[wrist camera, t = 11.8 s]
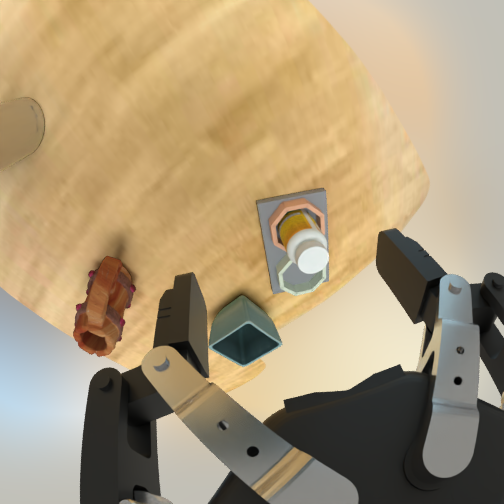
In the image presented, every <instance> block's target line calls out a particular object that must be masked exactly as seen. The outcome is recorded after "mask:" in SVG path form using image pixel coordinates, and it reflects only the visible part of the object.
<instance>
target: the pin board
mask: <svg viewBox="0 0 504 504" xmlns="http://www.w3.org/2000/svg"><path fill="white" fill-rule="evenodd" d="M256 202H257V207H258V213H259V219H260V224H261V230H262V235H263V241H264V247H265V252H266V258H267V264H268V269H269V275H270V281H271V287H272V291H273V294H276V293H281V292H285V291H286V292H288V293H290V294H292V295H295V296H297V295H301V294H305V293H309V292H313V291H314V290H315V289H316V288H317V287H318V286H319V285H320V284H321V283H323V282H327V281H329V261H328V263H327V265H326V266H325V267H324V268H323V269H322V270H321V271H319V272H317V273H313V274H307V273H304V272H302V271H301V270H300V269H299V267H298V265H297V264H295V263H293V262H292V261H291V260H290V259H289V257H288V255H287V252H286V250H285V247H284V245H283V242H282V240H281V237H280V235H279V232H278V228H277V224H278V223H279V221H280V220H281V219H282V218H283V216H284V215H285V214H286V213H287V211H292V210H297V209H304V210H306V211H308V212H309V213H310V215H311V216H312V217H313V219H314V220H315V222H316V224H317V225H318V227H319V228H320V230H321V231H322V233H323V234H324V236H325V238H326V241H327V251H328V220H327V199H326V190H325V189H324V188H320V189H314V190H309V191H303V192H298V193H293V194H288V195H282V196H277V197H272V198H267V199H262V200H258V201H256Z"/></svg>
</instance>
